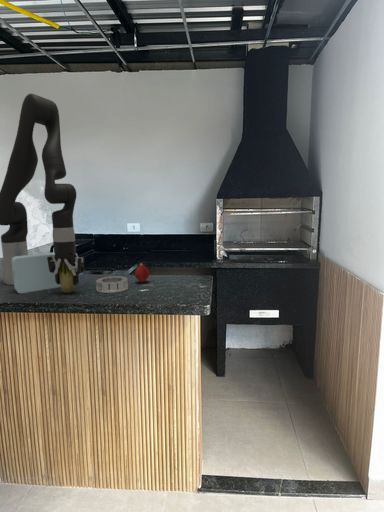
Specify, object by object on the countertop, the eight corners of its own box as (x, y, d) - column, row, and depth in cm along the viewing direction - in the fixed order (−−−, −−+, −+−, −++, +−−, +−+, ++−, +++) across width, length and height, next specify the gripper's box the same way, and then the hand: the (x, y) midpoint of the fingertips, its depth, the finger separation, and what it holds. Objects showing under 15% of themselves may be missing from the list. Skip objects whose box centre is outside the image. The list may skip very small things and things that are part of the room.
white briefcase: (75, 281, 144) (73, 250, 141) (79, 283, 139) (77, 251, 137) (14, 290, 130) (10, 256, 128) (17, 294, 125) (13, 258, 123)
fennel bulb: (58, 292, 127) (55, 261, 125) (70, 289, 131) (68, 259, 128) (65, 295, 123) (63, 263, 121) (78, 292, 127) (76, 261, 124)
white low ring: (90, 292, 127) (89, 283, 126) (105, 283, 138) (105, 275, 138) (120, 294, 124) (119, 284, 124) (133, 285, 136) (132, 276, 135)
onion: (142, 280, 144) (142, 261, 143) (152, 282, 141) (151, 263, 139) (132, 282, 140) (131, 263, 138) (141, 285, 136) (141, 265, 135)
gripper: (40, 240, 121) (44, 285, 124) (76, 241, 118) (79, 288, 121) (52, 237, 128) (56, 280, 131) (87, 238, 125) (90, 282, 128)
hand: (67, 284), depth 126 cm, fingers closed on fennel bulb, 6 cm apart
